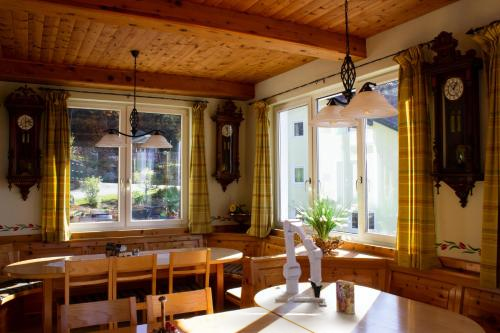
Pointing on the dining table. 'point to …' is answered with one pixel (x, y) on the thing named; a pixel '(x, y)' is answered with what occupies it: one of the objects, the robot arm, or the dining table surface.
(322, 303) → the rack
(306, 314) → the dining table surface
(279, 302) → the brown square backing plate
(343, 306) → the candy box
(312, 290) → the u clip
